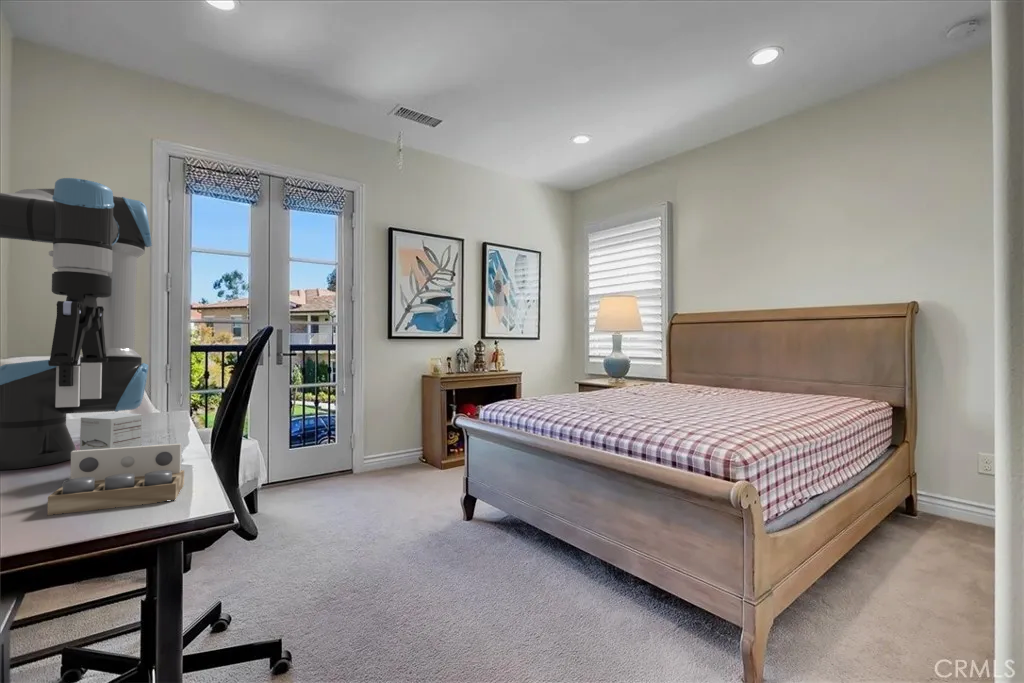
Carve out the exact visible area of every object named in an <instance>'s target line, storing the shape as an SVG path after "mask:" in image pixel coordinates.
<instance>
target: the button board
mask: <svg viewBox="0 0 1024 683" xmlns="http://www.w3.org/2000/svg"><path fill="white" fill-rule="evenodd" d="M144 481H145V476H140V477H135V479H134V487H132V488H122V489H112V490H105V480H96V481H95V487H94V491H92V492H82V493H72V494H63V485H62V486H60V487H59V488H58V489H57V490H55V491H54V492H52V493H51V494H50V495H48V496H47V516H53V514H55V515H62V513H64V514H70V513H71V514H72V513H80V512H88V511H97V510H98V509H99V510H107V509H115V507H116V508H125V507H131V506H133V507H135V506H140V505H141V506H142V504H143V505H149V504H150V505H151V504H157V502H160V503H163V502H162V501H167V500H175V499H176V497H177V496H179V495H180V493H181V492H180V490H181V489H183V488H184V486H185V469H181V472H180V473H173V474H172V484H162V485H152V486H144ZM183 485H184V486H183ZM182 487H183V488H182ZM181 491H182V490H181ZM179 492H180V493H179ZM178 494H179V495H178ZM177 498H178V497H177ZM176 500H177V499H176ZM176 500H175V501H176Z"/></svg>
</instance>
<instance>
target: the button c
mask: <svg viewBox="0 0 1024 683" xmlns="http://www.w3.org/2000/svg"><path fill="white" fill-rule="evenodd" d="M162 484H172V471H170V470H160V471H153V472H149V473H146V474H145V481H144V486H152V485H162Z"/></svg>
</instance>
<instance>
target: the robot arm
mask: <svg viewBox="0 0 1024 683" xmlns="http://www.w3.org/2000/svg"><path fill="white" fill-rule="evenodd" d="M148 215H149V214H148V208H147V206H146V204H145V203H144V202H142V201H140V200H136V199H131V198H127V197H125V196H121V197H120V196H115V195H114V193H113V190H112V189H111V188H110V187H109V186H107V185H105V184H102V183H100V182H96V181H92V180H88V179H83V178H77V177H76V178H75V177H62V178H58V179H57V180H56V181H55V183H54V188H25V189H20V190H18V191H15V192H0V238H1V239H9V240H20V241H30V242H38V243H45V244H48V243H49V244H52V250H49V251H48V255H49V256H50V257H52V267H53V269H55V270H57V271H53V273H51V292H52V294H55V295H59V296H66V300H64V301H63V300H58V301H57V302H56V319H55V324H54V330H53V331H54V332H53V339H52V346H51V350H50V356H49V359H42V360H32V361H23V362H14V363H7V364H3V365H0V471H1V470H3V471H4V470H5V471H6V470H17V469H28V468H35V467H42V466H43V467H44V466H49V465H55V464H58V463H63V462H67V461H69V460H70V461H71V452H72V451H76V449H77V448H76V444H75V443H74V440H73V438H72V435H71V434H70V430H69V429H68V427H67V415H68V414H85V413H86V414H87V413H88V414H89V413H106V412H107V413H110V412H114V413H119V412H121V411H122V412H123V411H132V410H137V409H138V408H139V407H140V406H141V405H142V402H143V399H144V396H145V390H146V385H147V380H148V371H149V364H147V363H145V362H142V360H143V358H142V356H141V354H139V353H138V352H137V351H136V350H135V344H136V343H135V341H136V340H135V339H136V337H135V336H136V334H135V333H136V307H137V306H136V305H137V271H138V270H137V269H138V267H137V265H138V259H139V258H140V257H141V256H143V255H144V254H145V251H146V249H145V248H151V247H152V246H153V245H152V236H151V229H150V222H149V217H148ZM81 353H82V354H81ZM80 354H81V355H80Z"/></svg>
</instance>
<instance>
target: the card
mask: <svg viewBox="0 0 1024 683" xmlns="http://www.w3.org/2000/svg"><path fill="white" fill-rule="evenodd" d="M181 463H182V443H169V444H168V443H167V444H166V443H165V444H153V445H152V444H151V445H142V446H135V447H121V448H106V449H91V450H80V449H77V450H75V451H72V452H71V459H70V476H69V477H70V478H69V480H70V479H74V478H81V477H94V478H95V481H96V480H105V478H106V477H109V476H112V475H117V474H127V473H130V474H134V475H135V477H140V476H145V474H146V473H149V472H153V471H160V470H170V471H172V474H173V473H180V472H181V470H182V469H181V466H182V464H181Z"/></svg>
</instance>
